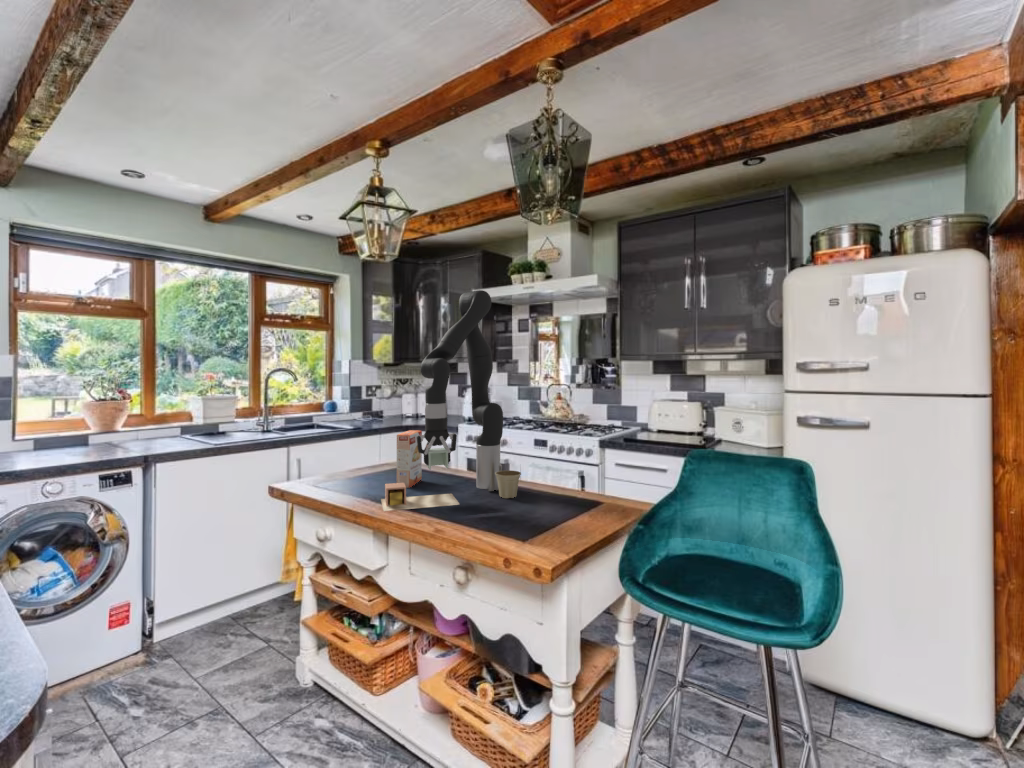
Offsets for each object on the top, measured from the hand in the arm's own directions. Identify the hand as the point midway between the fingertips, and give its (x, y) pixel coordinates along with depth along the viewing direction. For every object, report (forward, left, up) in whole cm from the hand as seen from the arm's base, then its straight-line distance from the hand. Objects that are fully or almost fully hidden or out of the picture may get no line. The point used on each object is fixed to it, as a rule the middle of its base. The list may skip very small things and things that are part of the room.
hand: (437, 464), depth 179 cm
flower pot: (-26, 0, -14) cm, 29 cm away
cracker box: (+6, -29, -14) cm, 33 cm away
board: (+6, +1, -13) cm, 15 cm away
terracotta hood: (+14, 0, -12) cm, 19 cm away
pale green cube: (0, 0, -1) cm, 1 cm away
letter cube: (+14, 0, -12) cm, 19 cm away
